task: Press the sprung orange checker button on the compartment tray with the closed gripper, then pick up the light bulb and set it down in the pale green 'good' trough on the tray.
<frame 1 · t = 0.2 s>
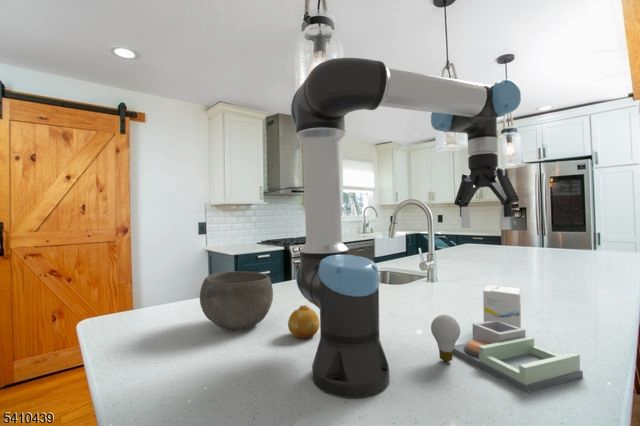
hand: (484, 228, 93), 27 cm above the countertop, fingers open, 13 cm apart
compartment tray: (510, 363, 69), on the countertop
light bulb: (446, 362, 70), on the countertop
ink box: (502, 333, 87), on the countertop
checker pad: (480, 347, 72), point 2 cm above the countertop, slide at 1.2 cm
fruit: (304, 336, 87), on the countertop
bowl: (237, 326, 96), on the countertop
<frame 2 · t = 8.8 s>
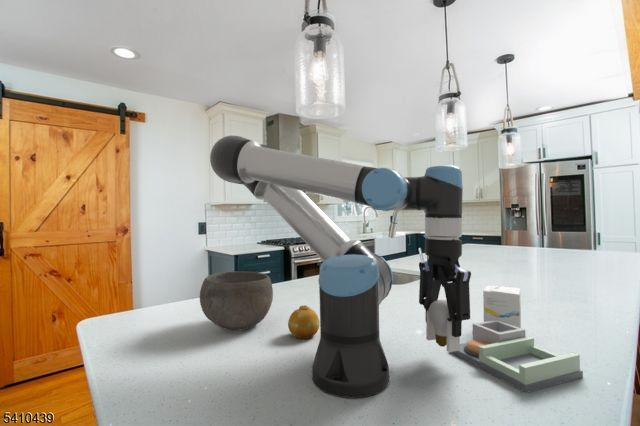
hand: (442, 344, 70), 4 cm above the countertop, fingers closed on light bulb, 6 cm apart
light bulb: (442, 347, 70), point 3 cm above the countertop, touching gripper
everything else where it was.
when the fingers open (3 cm above the countertop, at t = 12.9 s): light bulb drops 1 cm, resting on compartment tray.
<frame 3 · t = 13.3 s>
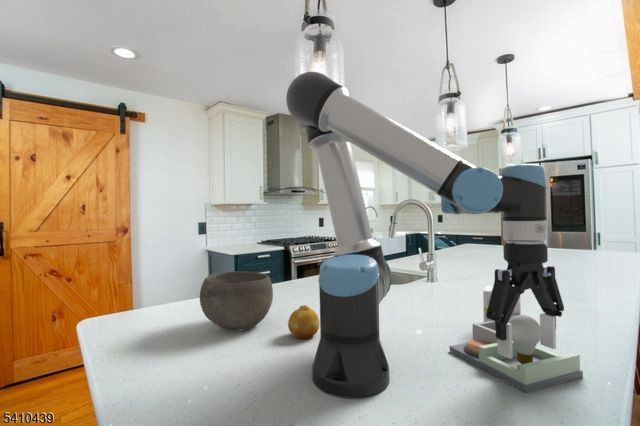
hand: (527, 351, 65), 4 cm above the countertop, fingers open, 11 cm apart
light bulb: (525, 366, 65), point 1 cm above the countertop, touching compartment tray
everything else where it was.
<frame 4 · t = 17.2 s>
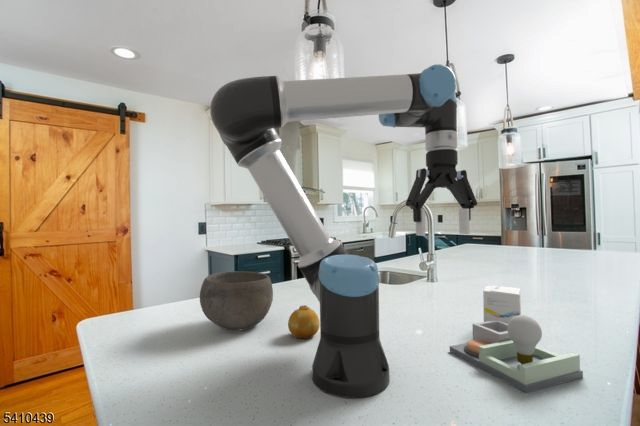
hand: (443, 234, 82), 27 cm above the countertop, fingers open, 13 cm apart
nothing on the countertop moved.
at the end: light bulb inside the target area on the compartment tray (0.5 cm from its centre), point 1.0 cm above the compartment tray's base; the gripper is holding nothing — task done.
